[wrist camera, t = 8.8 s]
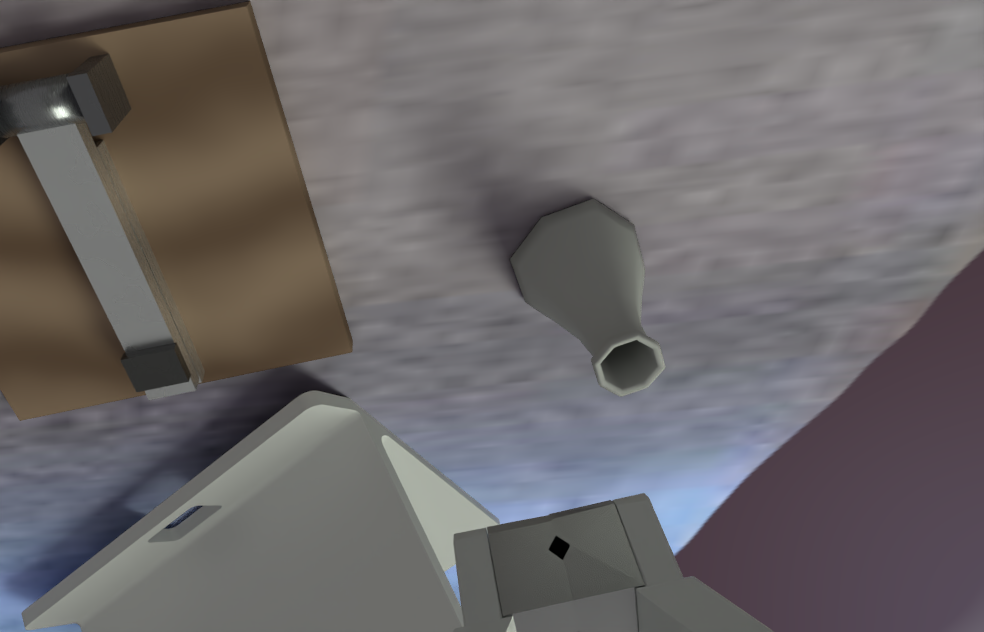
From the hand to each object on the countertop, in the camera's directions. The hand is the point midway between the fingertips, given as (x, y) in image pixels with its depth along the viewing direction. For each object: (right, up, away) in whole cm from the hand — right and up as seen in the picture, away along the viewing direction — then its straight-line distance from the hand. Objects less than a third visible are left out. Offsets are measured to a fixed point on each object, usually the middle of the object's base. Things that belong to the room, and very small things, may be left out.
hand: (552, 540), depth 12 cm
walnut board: (-19, +8, +26) cm, 33 cm away
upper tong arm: (-19, +7, +25) cm, 32 cm away
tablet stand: (-15, -12, +40) cm, 44 cm away
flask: (+4, +7, +31) cm, 32 cm away
